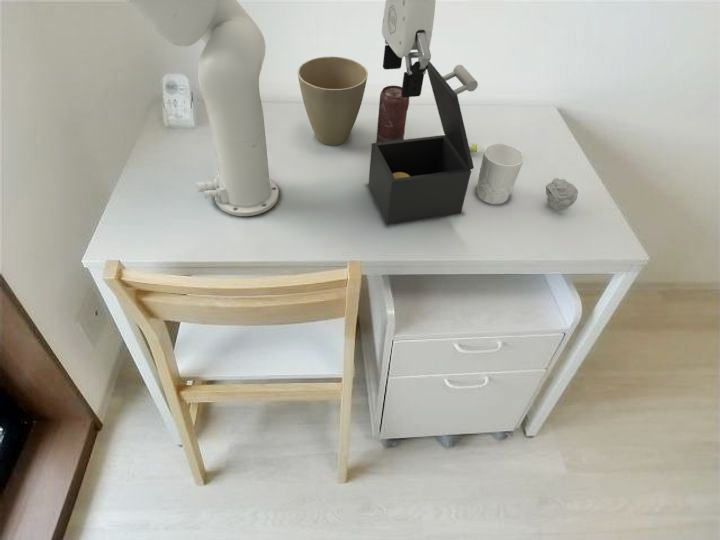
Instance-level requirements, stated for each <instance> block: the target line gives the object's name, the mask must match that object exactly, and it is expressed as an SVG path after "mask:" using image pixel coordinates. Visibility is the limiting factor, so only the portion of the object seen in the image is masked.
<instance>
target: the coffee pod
mask: <svg viewBox="0 0 720 540" xmlns="http://www.w3.org/2000/svg"><path fill="white" fill-rule="evenodd" d="M393 176H394V178H403V177H410V176H409V175H408V174H406V173H403V172H396V173H393Z"/></svg>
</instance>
